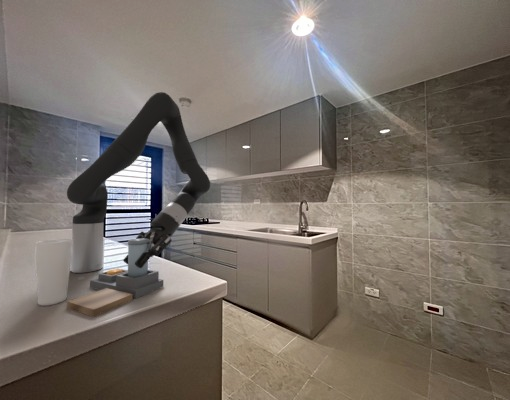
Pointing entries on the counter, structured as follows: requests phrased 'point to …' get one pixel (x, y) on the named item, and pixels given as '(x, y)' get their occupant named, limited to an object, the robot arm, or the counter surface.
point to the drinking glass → (52, 270)
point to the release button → (114, 271)
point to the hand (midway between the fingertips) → (131, 264)
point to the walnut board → (99, 301)
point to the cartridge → (136, 257)
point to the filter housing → (128, 283)
